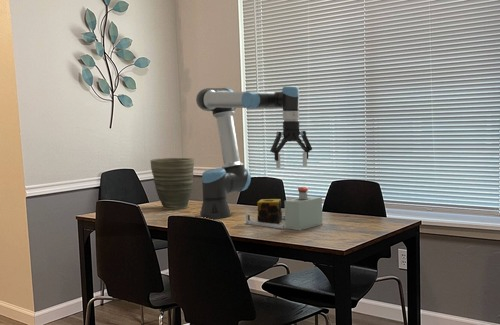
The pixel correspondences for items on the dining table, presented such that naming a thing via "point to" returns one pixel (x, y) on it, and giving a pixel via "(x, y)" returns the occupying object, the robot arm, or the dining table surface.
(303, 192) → the plunger
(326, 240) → the dining table surface
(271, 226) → the rail track
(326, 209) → the dining table surface
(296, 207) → the gauge cabinet
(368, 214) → the dining table surface
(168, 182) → the vase
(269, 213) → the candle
